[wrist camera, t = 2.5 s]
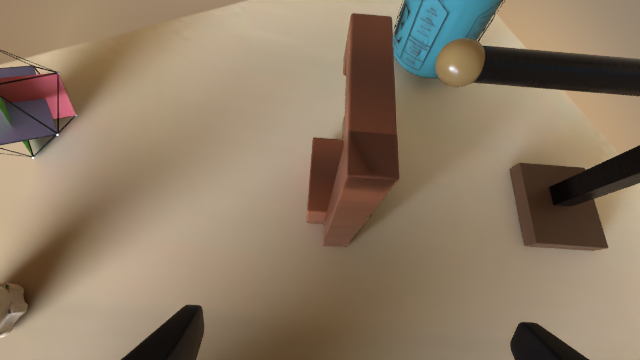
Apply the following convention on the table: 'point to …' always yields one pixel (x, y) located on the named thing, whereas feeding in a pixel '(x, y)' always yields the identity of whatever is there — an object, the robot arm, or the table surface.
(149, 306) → the table surface
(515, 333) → the robot arm
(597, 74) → the rack
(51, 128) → the geometric puzzle
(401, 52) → the beverage bottle
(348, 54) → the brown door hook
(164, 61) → the table surface
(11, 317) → the handle
